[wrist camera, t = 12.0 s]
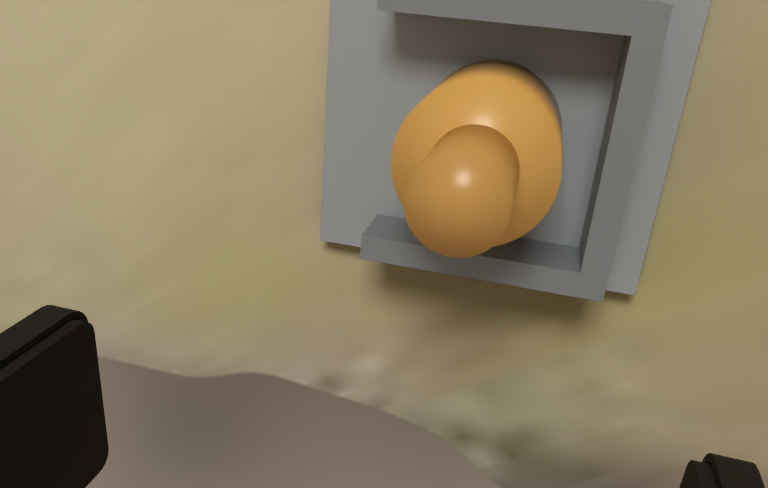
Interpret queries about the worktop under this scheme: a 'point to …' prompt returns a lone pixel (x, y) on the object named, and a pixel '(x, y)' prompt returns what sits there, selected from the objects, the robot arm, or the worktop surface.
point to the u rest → (578, 112)
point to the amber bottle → (479, 158)
